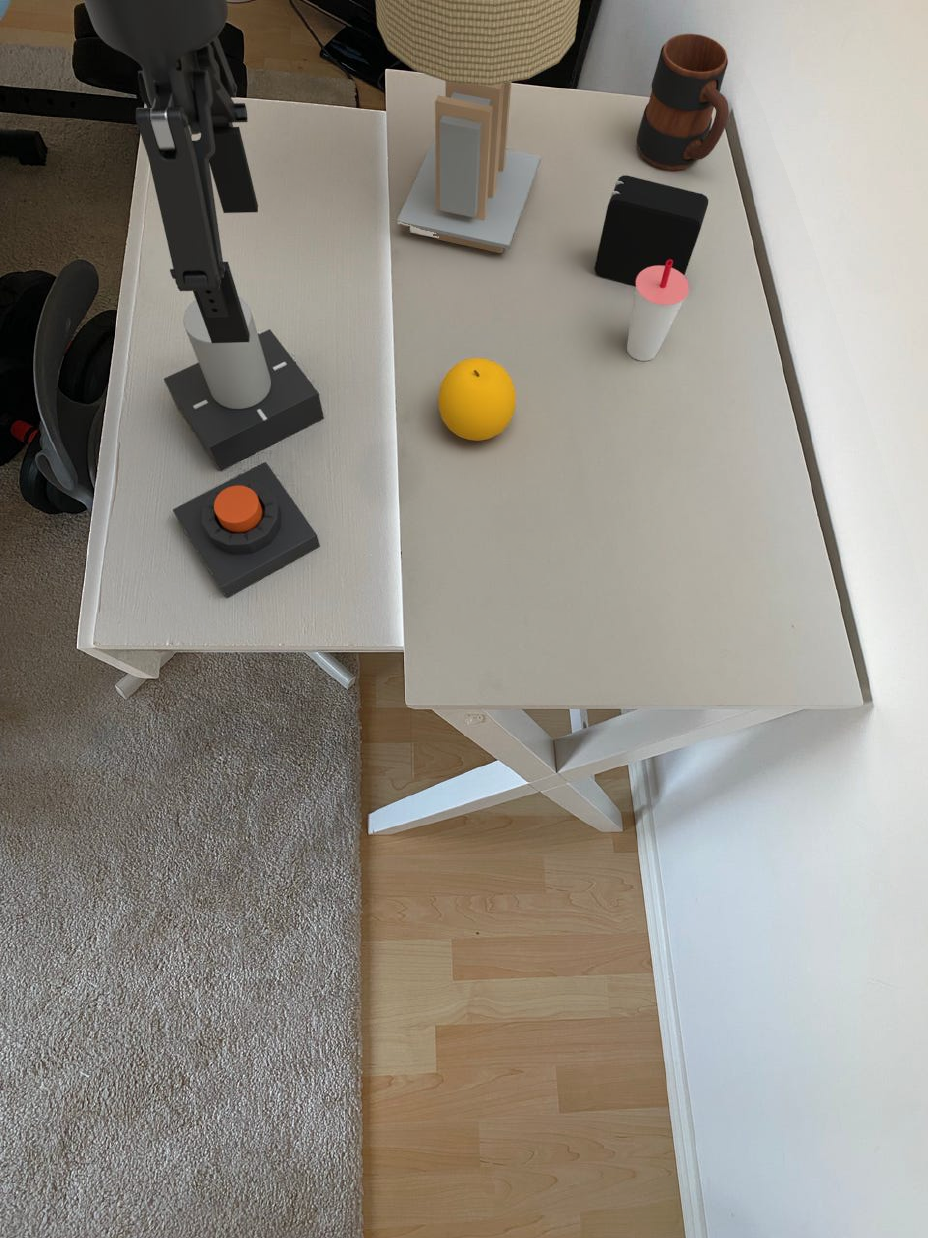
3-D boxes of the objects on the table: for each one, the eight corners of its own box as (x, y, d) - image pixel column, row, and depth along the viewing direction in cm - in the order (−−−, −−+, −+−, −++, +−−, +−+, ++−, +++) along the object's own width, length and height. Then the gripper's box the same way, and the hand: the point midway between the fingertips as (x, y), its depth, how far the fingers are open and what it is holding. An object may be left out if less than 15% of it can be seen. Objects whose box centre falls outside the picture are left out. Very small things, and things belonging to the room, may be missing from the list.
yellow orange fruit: (504, 460, 80) (510, 412, 74) (429, 443, 81) (428, 394, 74) (520, 399, 84) (527, 348, 77) (448, 384, 84) (449, 332, 77)
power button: (231, 540, 72) (226, 530, 70) (211, 508, 73) (205, 498, 71) (270, 519, 73) (266, 509, 71) (249, 488, 74) (245, 478, 72)
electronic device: (676, 297, 90) (703, 221, 81) (592, 275, 91) (609, 197, 82) (684, 272, 92) (711, 195, 83) (601, 250, 93) (619, 172, 84)
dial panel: (220, 472, 79) (209, 446, 75) (175, 404, 82) (162, 376, 78) (324, 419, 82) (318, 392, 78) (276, 355, 85) (269, 326, 81)
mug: (674, 197, 97) (703, 102, 86) (622, 139, 101) (643, 41, 91) (731, 176, 99) (766, 80, 88) (677, 120, 103) (704, 22, 92)
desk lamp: (416, 138, 100) (404, -255, 68) (566, 169, 99) (626, -219, 66) (368, 243, 93) (328, -145, 60) (529, 279, 91) (577, -101, 59)
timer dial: (282, 392, 78) (262, 321, 70) (227, 418, 77) (201, 349, 68) (253, 352, 80) (230, 279, 72) (199, 378, 79) (170, 306, 70)
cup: (634, 374, 85) (662, 286, 74) (608, 340, 87) (632, 249, 76) (675, 357, 87) (709, 268, 76) (649, 324, 88) (678, 232, 77)
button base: (227, 598, 73) (215, 578, 70) (178, 521, 76) (165, 498, 73) (320, 546, 76) (314, 524, 72) (270, 474, 79) (261, 449, 75)
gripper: (193, 91, 36) (280, 398, 56) (226, -178, 46) (290, 160, 66) (26, 93, 36) (172, 402, 55) (96, -179, 46) (198, 162, 65)
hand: (236, 271), depth 61 cm, fingers open, 13 cm apart
